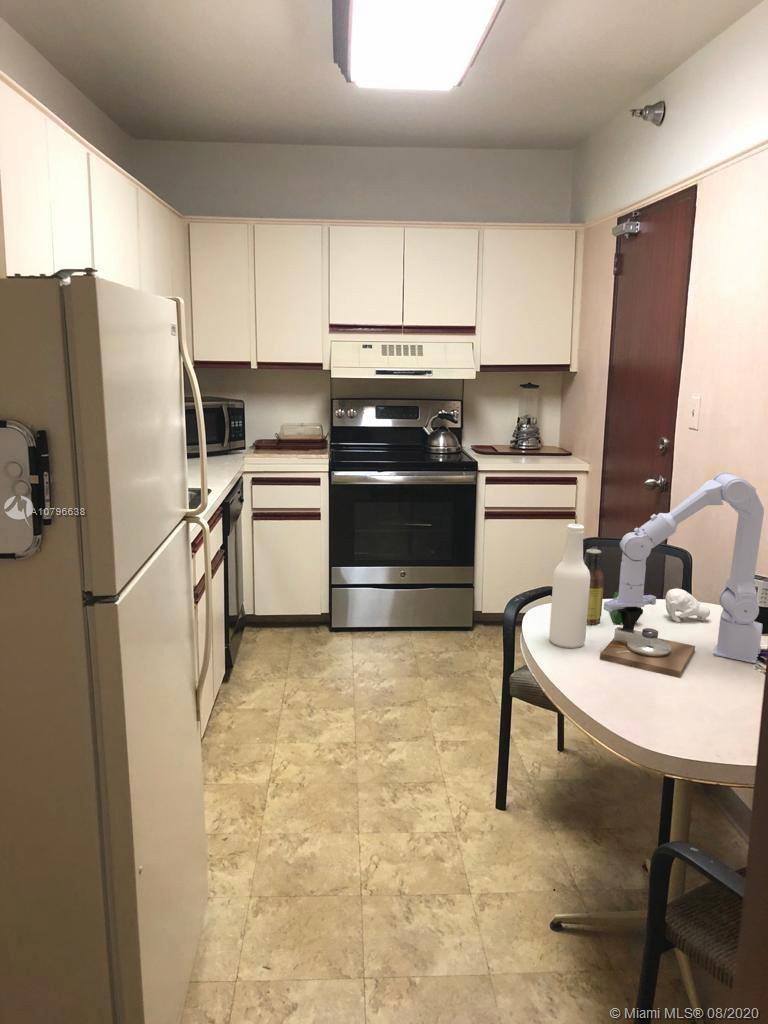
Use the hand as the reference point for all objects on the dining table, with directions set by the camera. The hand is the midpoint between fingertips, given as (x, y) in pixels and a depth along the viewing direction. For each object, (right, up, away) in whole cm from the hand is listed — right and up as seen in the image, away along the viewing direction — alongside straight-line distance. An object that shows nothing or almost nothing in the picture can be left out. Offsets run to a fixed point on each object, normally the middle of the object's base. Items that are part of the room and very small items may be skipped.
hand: (627, 635), depth 184 cm
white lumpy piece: (+23, +1, +21) cm, 31 cm away
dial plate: (+4, -4, -4) cm, 7 cm away
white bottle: (-14, -2, +3) cm, 15 cm away
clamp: (+6, +1, +21) cm, 22 cm away
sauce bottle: (-5, +1, +18) cm, 19 cm away
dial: (+2, -2, -4) cm, 5 cm away
